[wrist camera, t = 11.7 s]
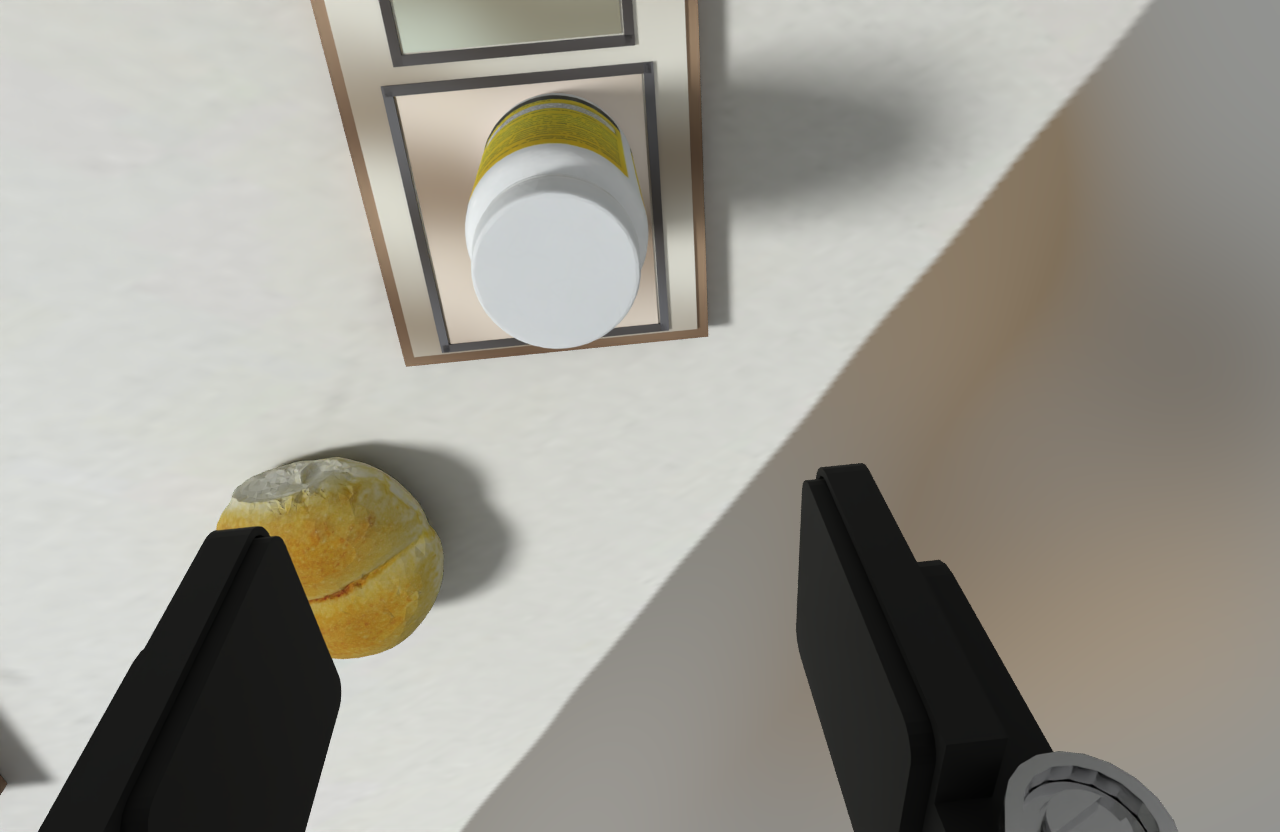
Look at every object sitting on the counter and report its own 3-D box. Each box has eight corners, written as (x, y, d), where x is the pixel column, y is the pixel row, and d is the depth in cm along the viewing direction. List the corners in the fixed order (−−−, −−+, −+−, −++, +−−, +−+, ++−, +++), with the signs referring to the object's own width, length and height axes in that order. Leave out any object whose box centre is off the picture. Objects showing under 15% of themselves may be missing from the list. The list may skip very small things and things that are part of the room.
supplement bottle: (453, 136, 25) (410, 233, 18) (588, 60, 25) (596, 131, 17) (533, 265, 28) (522, 393, 21) (658, 200, 27) (691, 311, 20)
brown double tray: (285, -130, 22) (268, -131, 21) (688, -165, 23) (696, -168, 21) (409, 356, 30) (402, 376, 29) (705, 326, 31) (711, 345, 29)
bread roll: (304, 635, 37) (272, 707, 34) (204, 477, 32) (156, 542, 29) (478, 599, 36) (464, 670, 33) (401, 432, 32) (375, 494, 28)
